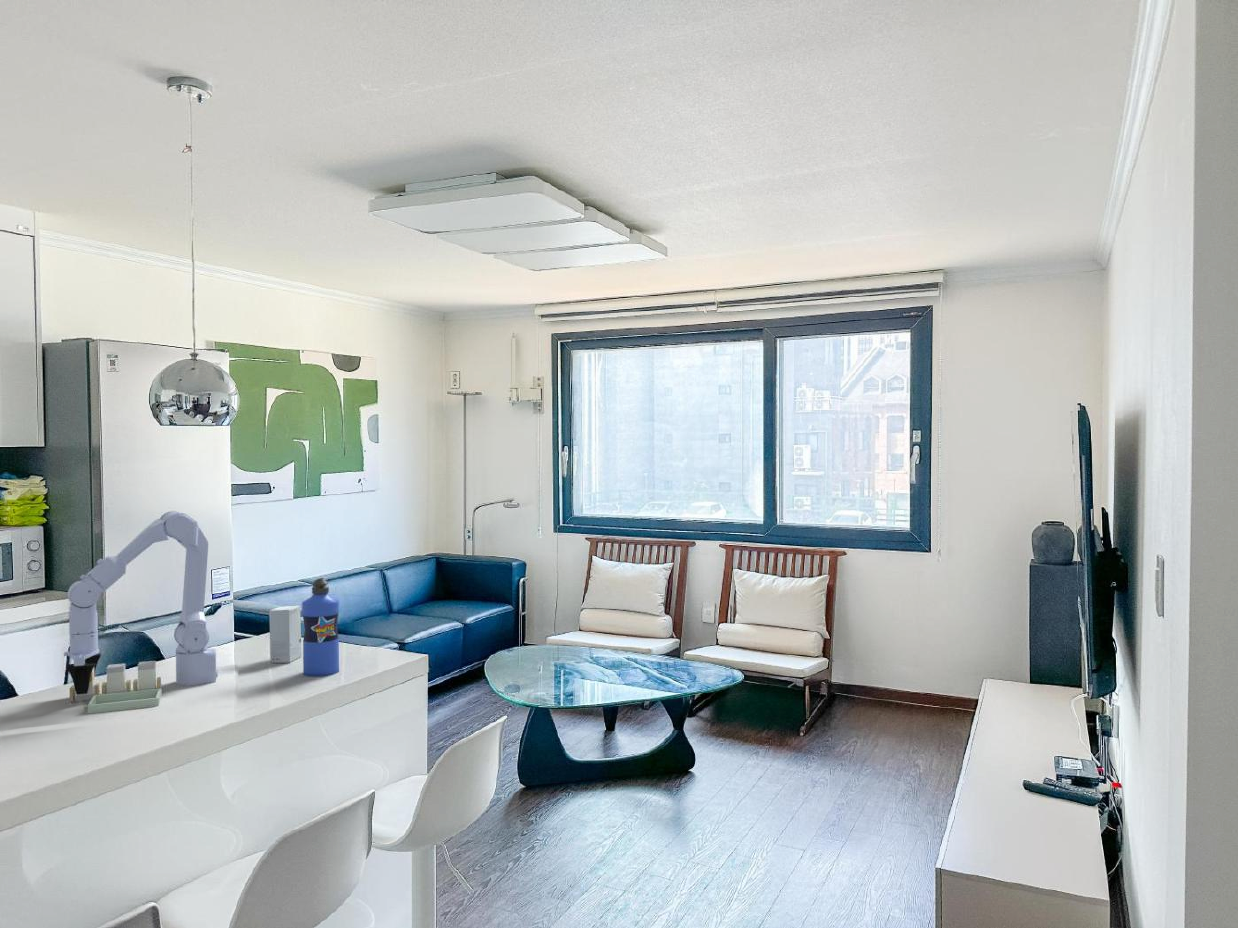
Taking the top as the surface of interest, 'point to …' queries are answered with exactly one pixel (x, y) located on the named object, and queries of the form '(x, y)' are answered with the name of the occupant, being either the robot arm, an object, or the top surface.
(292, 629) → the skincare box
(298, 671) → the top surface
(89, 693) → the marked fuse
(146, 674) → the fuse near base
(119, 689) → the block
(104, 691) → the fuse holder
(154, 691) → the tray
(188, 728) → the top surface
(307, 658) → the blue bottle
